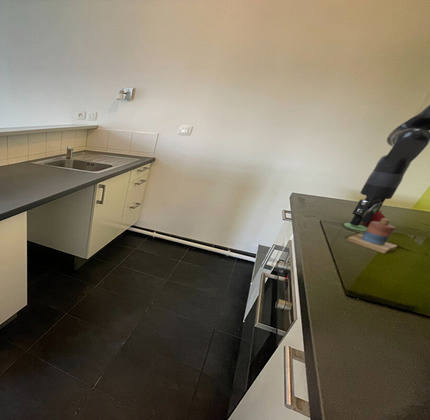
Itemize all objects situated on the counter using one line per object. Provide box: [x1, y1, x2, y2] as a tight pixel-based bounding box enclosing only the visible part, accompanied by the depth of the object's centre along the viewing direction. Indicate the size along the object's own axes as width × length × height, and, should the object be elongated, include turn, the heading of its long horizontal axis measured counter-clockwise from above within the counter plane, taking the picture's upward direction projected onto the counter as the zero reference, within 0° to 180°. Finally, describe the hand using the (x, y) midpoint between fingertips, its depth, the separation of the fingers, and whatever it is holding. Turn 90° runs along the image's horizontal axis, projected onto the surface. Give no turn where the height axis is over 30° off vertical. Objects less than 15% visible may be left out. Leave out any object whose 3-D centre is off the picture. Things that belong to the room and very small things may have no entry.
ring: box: [343, 222, 368, 235], centre depth 97 cm, size 7×7×2 cm
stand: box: [346, 217, 398, 255], centre depth 84 cm, size 9×9×10 cm
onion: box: [361, 209, 386, 227], centre depth 98 cm, size 6×6×8 cm
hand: (359, 223), depth 96 cm, fingers open, 8 cm apart
